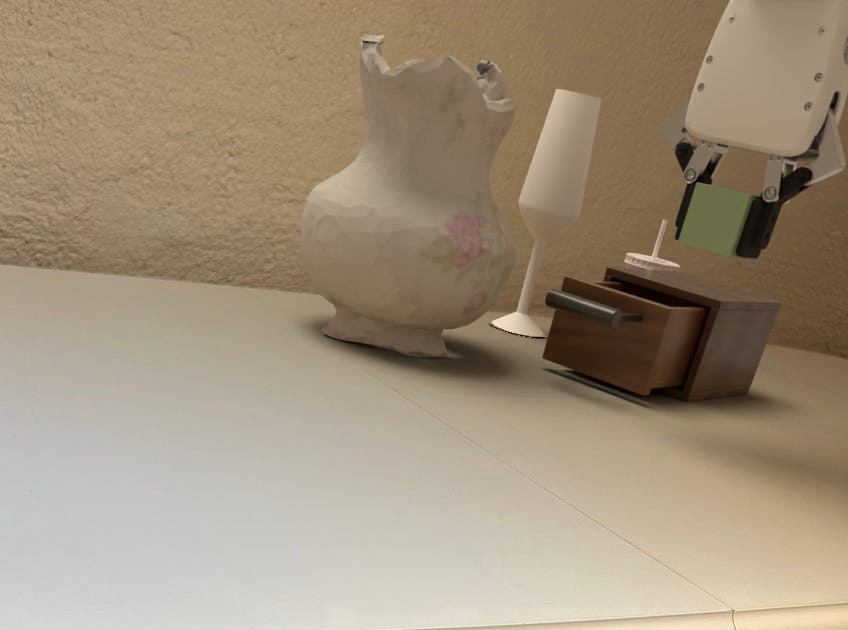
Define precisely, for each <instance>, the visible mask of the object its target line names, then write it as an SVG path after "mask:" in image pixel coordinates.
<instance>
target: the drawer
mask: <svg viewBox="0 0 848 630" xmlns="http://www.w3.org/2000/svg"><path fill="white" fill-rule="evenodd" d="M544 304H545V306H546V308H547V307H548V308H549V309H553V310H554V313H553V317H552V320H551V324H550V328H549V330H548V335H547V338H546V342H545V346H544V350H543V353H542V356H541V359H543V360H545V361H548V362H551V363H553V364H556V365H559V366H562V367H563V368H567V369H570V370H573V371H575V372H578V373H581V374H584V375H586V376H589V377H591V378H594V379H597V380H599V381H603V382H605V383H608V384H611V385H614V386H616V387H619V388H622V389H624V390H626V391H629V392H632V393H634V394H637V395H639V396H642V397H643V396H644V397H645V396H649V395H650V394H651V390H652V389H651V388H660V387H669V386H678V385H685V383H686V380H687V377H688V374H689V371H690V368H691V366H692V363H693V360H694V357H695V354H696V351H697V348H698V345H699V342H700V339H701V336H702V333H703V331H704V328H705V325H706V322H707V319H708V316H709V313H710V310H711V307H708V306H705V305H701V304H698V303H695V302H691V301H688V300H685V299H682V298H678V297H675V296H672V295H668V294H665V293H662V292H659V291H655V290H652V289H649V288H646V287H642V286H639V285H636V284H632V283H629V282H609V281H603V280H587V279H582V278H579V277H577V276H573V275H564V277H563V280H562V284H561V288H560V290H559V289H557V288H551V289H550V290H548V292H547V293H546V296H545V299H544Z"/></svg>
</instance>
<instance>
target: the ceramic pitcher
mask: <svg viewBox="0 0 848 630" xmlns="http://www.w3.org/2000/svg"><path fill="white" fill-rule="evenodd" d="M385 36H386V34H380V35H374V34H367V35H366V36H358V38H359V40H360V55H359V61H358V62H359V73H360V74H359V75H360V83H361V89H362V98H363V108H364V136H363V143H362V148H361V149H360V151H359V152H358V154H357V156H356V157H355V159H354V160H353V161H352V162H351V163H350V164H349V165H348V166H346V167H345V168H344V169H342V170H341V171H339V172H338V173H335V174H334V175H332V176H331V177H329V178H327V179H325V180H323V181H321V182H320V183H318V184H317V185H316V186H314V187H313V188H312V189H311V191H310V192H309V194H308V196H307V198H306V202H305V205H304V209H303V212H302V216H301V219H300V220H301V221H300V233H299V235H300V251H301V255H302V258H303V259H302V260H303V264H304V267H305V269H306V271H307V272H306V273H307V274H308V277H309V280H310V281H311V284H312V285H313V287H314V289H315V290H316V291H317V293H318V294H319V295H320V296H321V297H323V299H325V300H326V301H327V302H329V303H330V304H332V306H333V307H334V309H335V314H334V316H333V317H332V318H331V319H330V320H329V321H328V323H327V324H325V325H323V327H322V328H320V330H321V332H322V333H323V335H326V336H328V337H331V338H333V339H337V340H341V341H346V342H353V343H359V344H360V343H361V344H366V345H372V346H377V347H380V348H383V349H387V350H390V351H392V352H393V351H394V352H397V353H400V354H403V355H404V356H409V357H410V356H413V357H422V358H423V357H425V358H426V357H436V358H437V357H438V358H448V352H447V347H446V345H445V344H446V343H445V340H444V338H443V336H442V335H443V332H444V330H454V329H460V328H463V327H466V326H469V325H471V324H473V323H474V322H476V321H477V320H479V319H480V318H481V317H483V316H484V315H485V314H486V313H488V311H490V309H491V308H492V307H493V306H494V304H496V302H497V300H498V299H499V298H500V296H501V295H502V293H503V291H504V289H505V288H506V285H507V283H508V282H509V280H510V277H511V275H512V274H513V270H514V267H515V263H516V257H517V242H516V241H517V240H516V238H515V235H514V233H513V231H512V228H511V227H510V225H509V223H508V222H507V220H506V218H505V217H504V215H503V213H502V212H501V210H500V208H499V207H498V206H497V203H496V202H495V200H494V198H493V196H492V191H491V185H490V173H491V169H492V165H493V163H494V160H495V156H496V154H497V152H498V149H499V148H500V145H501V144H502V142H503V140H504V138H505V137H506V135H507V133H508V132H509V131H510V129H511V128H512V126H513V123H514V120H515V119H514V118H515V110H516V109H515V107H516V106H515V102H514V99H512V98H507V95H506V94H507V93H506V82H505V79H504V76H503V73H504V71H503V70H501V69H500V65H498V64H497V63H496V62H495V61H494V59H490V60H486V59H482V60H481V61H480V62H478V64H477V65H476V75H475V73H474V72H473V70H472V69H471V68H469V67H468V66H467V65H465V64H464V63H462V62H461V61H460V60H458V59H456V58H455V57H453V56H452V55H450V56H448V55H447V56H446V55H445V56H443V55H441V56H435V57H432V58H428V59H426V58H425V59H424V58H412V59H410V60H407V61H405V62H403V63H402V64H400V65H397V66H395V67H393V68H391V67H390V66H389V65H388V63H387V61H386V59H385V57H384V56H383V53H382V47H381V45H382V44H383V43H384V40H382V39H384V37H385Z"/></svg>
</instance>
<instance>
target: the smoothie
mask: <svg viewBox="0 0 848 630" xmlns="http://www.w3.org/2000/svg"><path fill="white" fill-rule="evenodd" d="M668 222H669V220H668V219H662V221H661V225H660V228H659V232H658V235H657V238H656V240H655V244H654V248H653V251H652V254H651V255H647V254H641V253H635V252H627V253H626V255H625V258H624V260H623V261H624V263H625V268H633V269H649V270H664V271H676V272H680V271H679V270H680V268H681V266H680V264H678V263H675V262H673V261H670V260H666V259H663V258H659V257H658V254H659V251H660V247H661V244H662V240H663V238H664V236H665V235H664V234H665V231H666V229H667V225H668Z"/></svg>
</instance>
